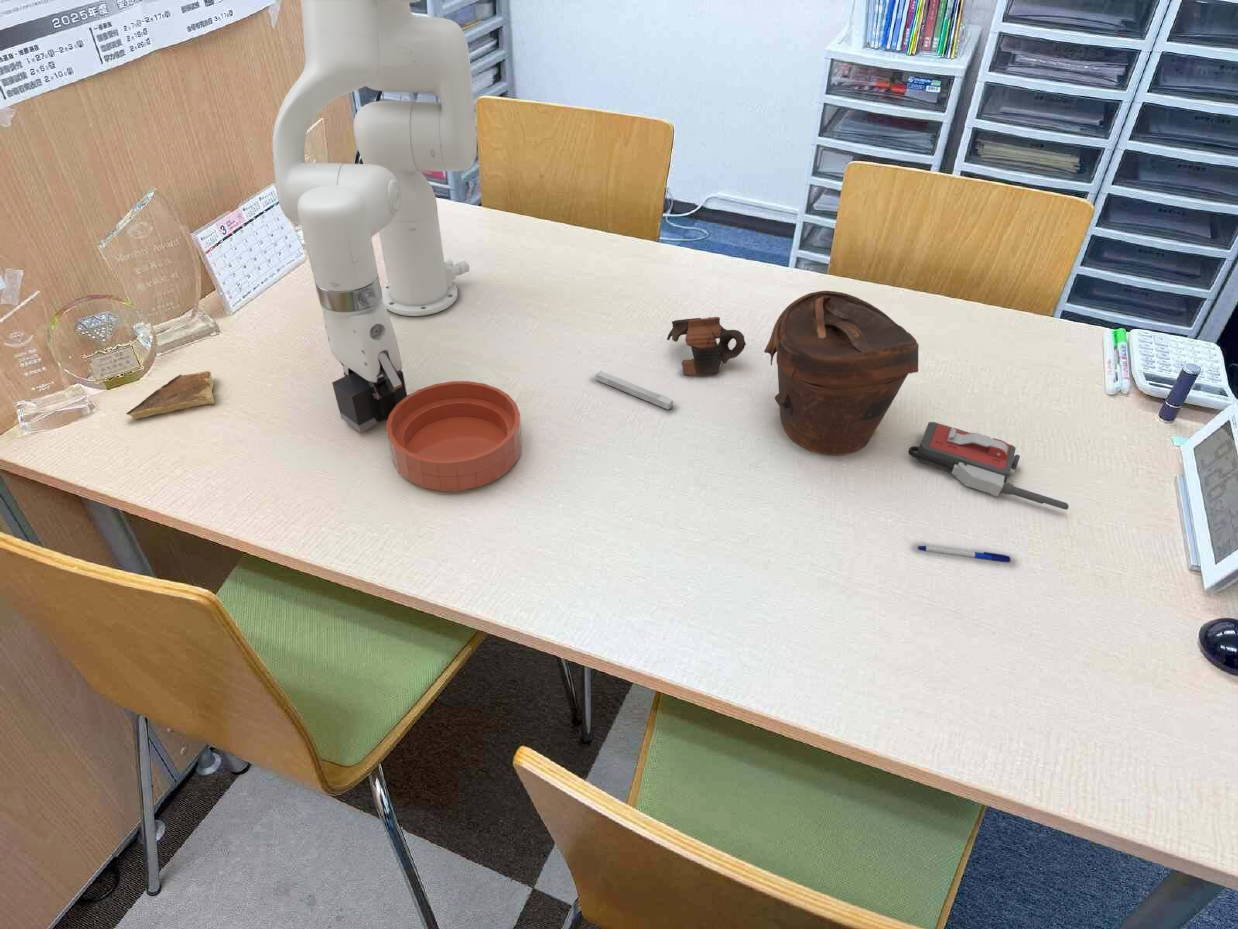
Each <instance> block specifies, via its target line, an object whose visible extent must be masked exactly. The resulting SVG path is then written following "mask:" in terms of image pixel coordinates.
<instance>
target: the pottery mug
mask: <svg viewBox="0 0 1238 929" xmlns="http://www.w3.org/2000/svg"><path fill="white" fill-rule="evenodd" d="M720 321H721V318H720V317H719V316H711V317H705V318H704V317H703V318H701V317H695V318H694V317H693V318H684V319H675V320H672V321H671V324H672V328H671V330H670V331H669V333H668V335H667V338H666V340H667V341H670V340H672V341H673V342H676V343H677V342H678V341H679V339H680V337H681V336H684V335H685V338H684V341H685V344H686V345H687V346H688V347H690V349H691V352H692V356H693V358H690V359H682V360H681V366H682V373H683V375H687V376H689V375H691V376H692V375H711V374H712V375H713V374H717V373H720V369H721V365H722V363H723V364H727V363H728V361H730V360H731V359H735V358H737V357H739V355H741V353H742V352H743V351H744V350H745V346H746V345H747V343H746V341H745V335H744V334H743V333H742V332H741V331H740V330H737V329H726V328H724V327H723V325H721V322H720ZM718 339H719V342H717V340H718ZM732 339H733V340H735V345H734V347H732V349H730V347H729V344H730V342H731V341H732Z"/></svg>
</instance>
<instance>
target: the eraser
mask: <svg viewBox="0 0 1238 929" xmlns="http://www.w3.org/2000/svg"><path fill="white" fill-rule="evenodd" d="M379 371H381V370H379ZM395 372H396V374H397V376H398V377H399V379H400V381H401V383H402V387H400V388H398V389H396V390H395V392H394V397H395V402H396V405H397V404H398V403H399V402H400V401H401V400H403V399H404V398H405V397H406V396H408V394H407V393H408V392H407V388H406V382H405V377H404V372H403V370H402V369H401V370H400V371H395ZM376 383H377V385H378V388H379V387H380V386H382V385H384V384H385V381H384V378H382V379H380V380H378V381H377V382H376ZM331 384H332V387H333V388H332V389H333V392H334V396H335V400H336V404H337V408H338V412H339V414H340V419H341V420H342V421H344V422H345V423H347V424H348V425H350V426H351V427H352V428H353V429H354V430H356V431H357V432H359V433H363V432H365V431H366V430H368V429H370V428H372V427H375V426H376V425H378V424H380V423H382V422H383V421H385V420H386V421H387V419H385V420H383V421H381V422H377V421H376V420H375V416H374V411H373V407H372V402H371V397H373V394H372V391H371V388H370V385H369V383H368V380H366V379H364V378H363V377H361V376H360V375H358V374H357V373H355V372H353V373H351V374H349V375H347V376H343V377H341V378H338V379H337V380H334V381H332V382H331Z"/></svg>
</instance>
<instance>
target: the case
mask: <svg viewBox="0 0 1238 929" xmlns="http://www.w3.org/2000/svg"><path fill="white" fill-rule="evenodd" d="M919 346H920V345H919V343H918V342H917V339H916V338H915V337H914V336H913V335H912V334H911V332H909V331H907V330H906V329H905V328H904V327H903V326H902V325H899V324H898V323H896V322H895V321H894V320H893V319H892V318H891V317H890V316H889V315H888V314H886V313H885V312H883V311H882V310H880V309H879V308H878V307H876V306H874V305H873V304H871V303H869V302H867V301H865V300H864V299H861V298H860V297H857V296H854V295H852V294H848V293H845V292H842V291H841V292H840V291H834V290H819V291H814V292H810V293H807V294H805V295H803V296H801V297H798V298H797V299H795V300H793V302H791V303H790V304H789V305H788V306H786V307H785V309H784V310H783V311H782V312H781V313H780V315H779V316H778V318H777V320H776V322H775V324H774V325H773V328H772V331H771V335H770V337H769V340H768V342H767V345H766V346H765V349H764V353H765V354H769V355H770V366H772V365H773V360H774V356H775V354H776V365H777V381H778V393H777V394H776V395H775V396H774V400H775V402H776V404H777V405H778V406H779V408H778V409H779V420H780V423H781V426H782V428H783V430H784V431H785V433H786V434H787V436H788V437H789V438H790V439H792V441H793V442H795V443H796V444H798V445H799V446H801V447H803V448H805V449H807V450H809V451H811V452H815V453H818V454H821V455H822V454H823V455H828V456H830V455H831V456H842V455H843V456H844V455H850V454H853V453H856V452H858V451H861V450H862V449H863V448H865V447H866V446H867V445H868V443H869V442H870V441H871V438H873V435H874V433H875V432H876V430H877V428H878V426H879V425H880V423H881V422H882V420H883V419H884V417H885V415H886V413H887V412H888V410H889V408H890V407H891V405H892V403H893V402H894V401H895V398H896V397H897V395H898V393H899V392H900V389H901V387H902V386H903V384H904V382H905V380H906V378H908V376H909V374H914V373H918V372H919Z"/></svg>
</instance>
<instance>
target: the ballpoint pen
mask: <svg viewBox="0 0 1238 929" xmlns="http://www.w3.org/2000/svg"><path fill="white" fill-rule="evenodd" d="M917 549H918V550H919V551H924V552H930V553H938V554H945V555H953V556H959V557H965V558H966V557H967V558H974V559H978V560H979V559H980V560H988V561H993V562H994V561H995V562H1000V563H1001V562H1003V563H1010V562H1011V556H1009V555H1006V554H1000V553H994V552H987V551H983V552H977V551H975V552H974V551H968V550H967V551H966V550H959V549H952V548H945V547H937V546H930V545H918V546H917Z"/></svg>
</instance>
